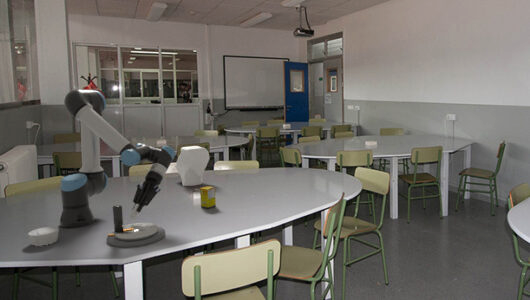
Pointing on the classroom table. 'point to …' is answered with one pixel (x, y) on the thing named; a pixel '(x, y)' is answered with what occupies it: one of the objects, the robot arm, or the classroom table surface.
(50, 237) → the ramekin
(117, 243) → the base plate
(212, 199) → the supplement box
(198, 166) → the white faceted lump
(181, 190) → the classroom table surface
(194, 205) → the classroom table surface
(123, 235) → the dial
